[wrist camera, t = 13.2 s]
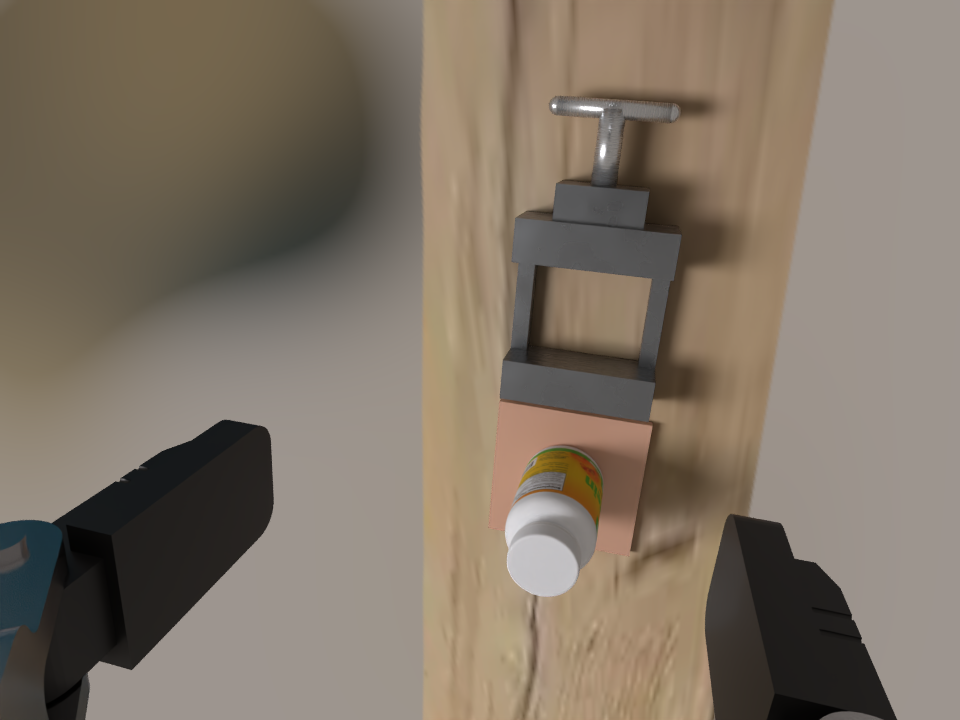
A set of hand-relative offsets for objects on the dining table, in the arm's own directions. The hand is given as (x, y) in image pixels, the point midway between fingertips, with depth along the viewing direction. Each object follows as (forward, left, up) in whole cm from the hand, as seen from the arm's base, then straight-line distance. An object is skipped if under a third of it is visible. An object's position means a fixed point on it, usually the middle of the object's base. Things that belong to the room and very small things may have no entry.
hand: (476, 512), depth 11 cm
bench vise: (+1, 0, -30) cm, 30 cm away
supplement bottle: (+16, 0, -30) cm, 34 cm away
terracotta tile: (+16, 0, -30) cm, 34 cm away
